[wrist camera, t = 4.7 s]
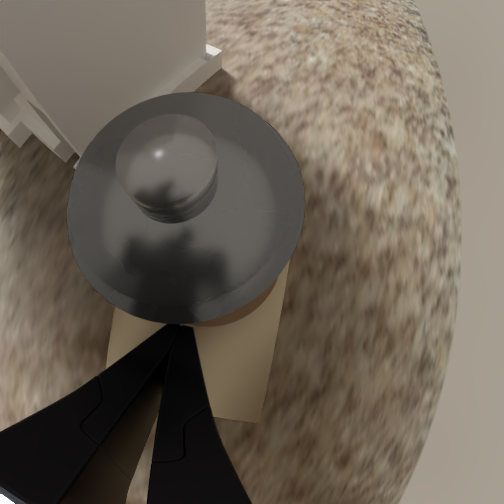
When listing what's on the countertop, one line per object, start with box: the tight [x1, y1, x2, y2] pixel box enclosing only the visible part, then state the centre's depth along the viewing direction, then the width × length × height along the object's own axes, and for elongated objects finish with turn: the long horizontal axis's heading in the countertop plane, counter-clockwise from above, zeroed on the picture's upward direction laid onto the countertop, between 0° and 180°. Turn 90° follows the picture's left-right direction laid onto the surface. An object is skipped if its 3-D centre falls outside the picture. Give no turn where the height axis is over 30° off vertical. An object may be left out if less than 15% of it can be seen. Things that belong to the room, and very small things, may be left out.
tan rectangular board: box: [106, 260, 290, 423], centre depth 17 cm, size 10×14×1 cm, turn 170°
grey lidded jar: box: [67, 92, 305, 324], centre depth 12 cm, size 8×8×11 cm
